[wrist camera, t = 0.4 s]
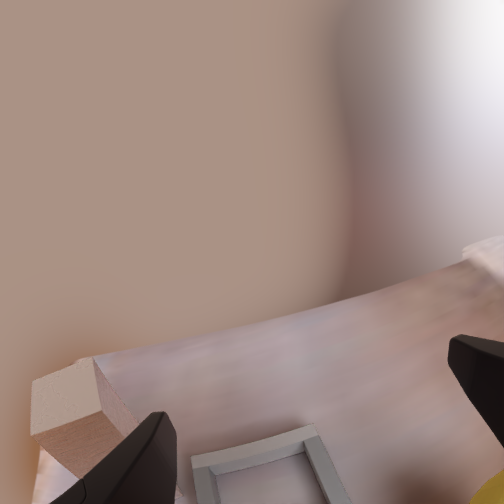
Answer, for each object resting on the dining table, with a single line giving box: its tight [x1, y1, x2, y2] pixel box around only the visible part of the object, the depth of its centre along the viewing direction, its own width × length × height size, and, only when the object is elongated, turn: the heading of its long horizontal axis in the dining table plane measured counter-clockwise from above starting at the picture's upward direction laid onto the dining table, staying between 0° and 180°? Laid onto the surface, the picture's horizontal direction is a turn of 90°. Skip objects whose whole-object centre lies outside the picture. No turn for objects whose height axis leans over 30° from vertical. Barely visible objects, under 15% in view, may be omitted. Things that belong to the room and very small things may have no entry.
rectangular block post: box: [31, 357, 183, 499], centre depth 17 cm, size 5×5×12 cm
